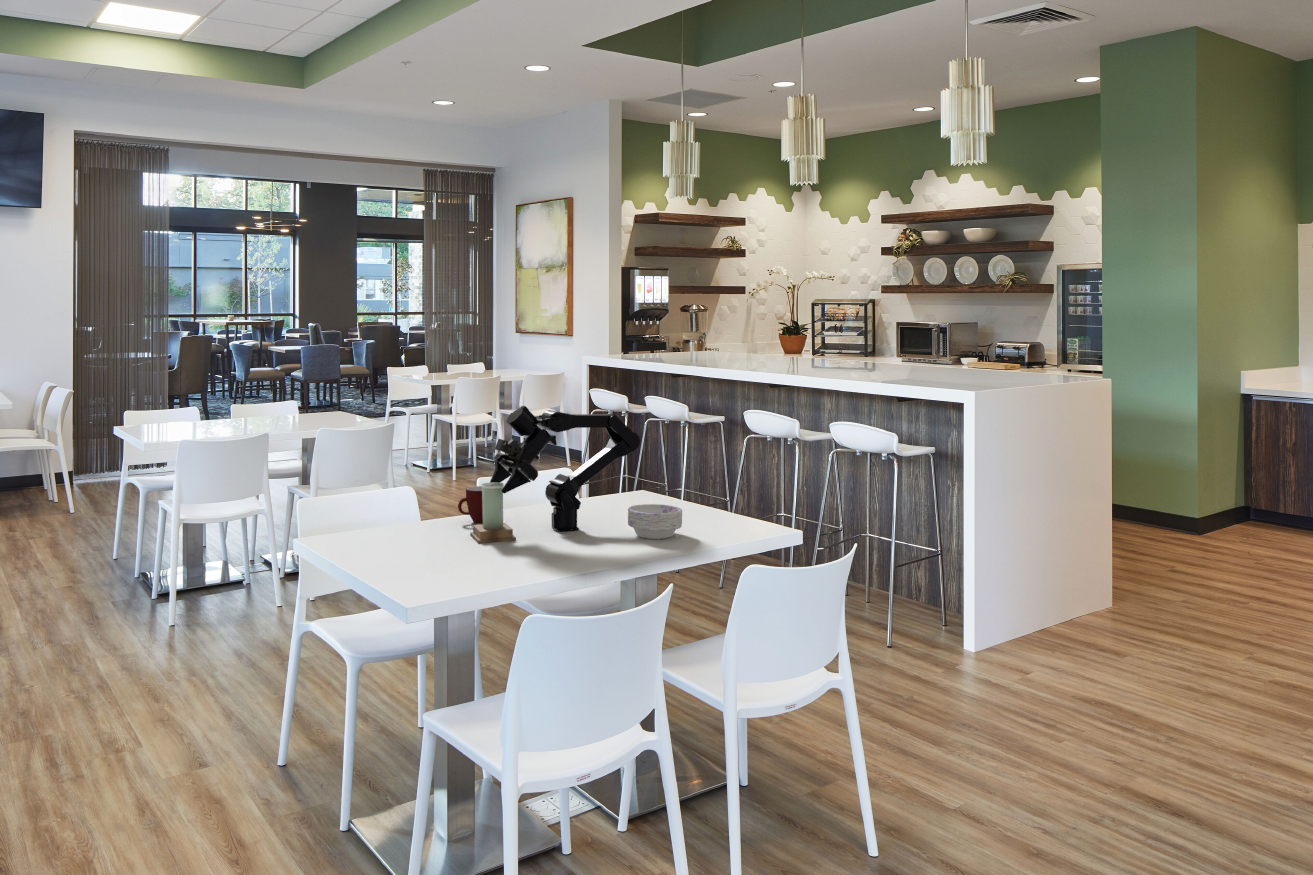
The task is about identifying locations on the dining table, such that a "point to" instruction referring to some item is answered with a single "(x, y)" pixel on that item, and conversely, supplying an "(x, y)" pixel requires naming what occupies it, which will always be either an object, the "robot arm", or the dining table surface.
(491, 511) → the tumbler
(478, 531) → the pedestal
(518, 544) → the dining table surface
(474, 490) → the mug
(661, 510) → the paper bowls
